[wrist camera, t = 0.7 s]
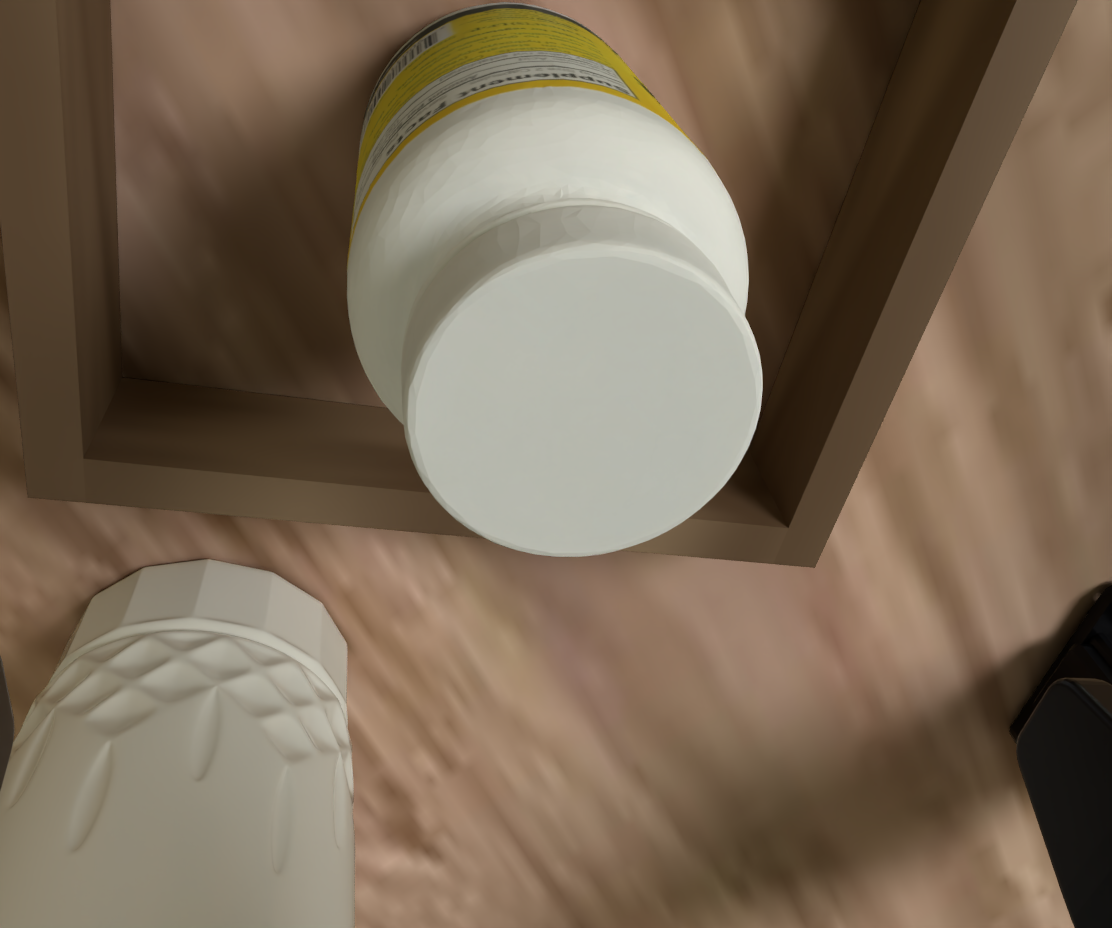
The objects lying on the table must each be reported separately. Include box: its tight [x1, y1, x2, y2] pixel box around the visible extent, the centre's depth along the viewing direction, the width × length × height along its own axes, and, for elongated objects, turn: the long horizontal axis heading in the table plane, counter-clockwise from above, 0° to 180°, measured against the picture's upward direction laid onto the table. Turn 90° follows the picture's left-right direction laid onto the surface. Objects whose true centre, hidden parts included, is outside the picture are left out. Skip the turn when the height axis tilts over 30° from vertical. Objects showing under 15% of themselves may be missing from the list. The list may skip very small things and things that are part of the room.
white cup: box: [0, 559, 355, 928], centre depth 21 cm, size 8×8×10 cm
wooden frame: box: [0, 0, 1077, 568], centre depth 17 cm, size 16×14×3 cm
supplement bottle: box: [347, 2, 763, 557], centre depth 15 cm, size 5×5×10 cm
